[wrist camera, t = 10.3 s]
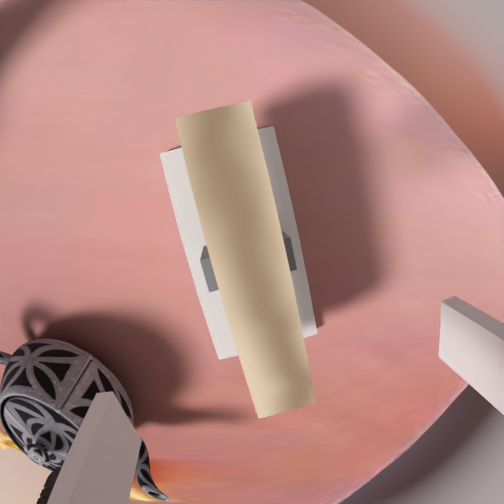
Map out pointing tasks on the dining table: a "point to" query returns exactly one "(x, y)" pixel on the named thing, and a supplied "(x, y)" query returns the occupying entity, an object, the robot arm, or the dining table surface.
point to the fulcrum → (199, 252)
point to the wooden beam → (247, 253)
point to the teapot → (58, 402)
